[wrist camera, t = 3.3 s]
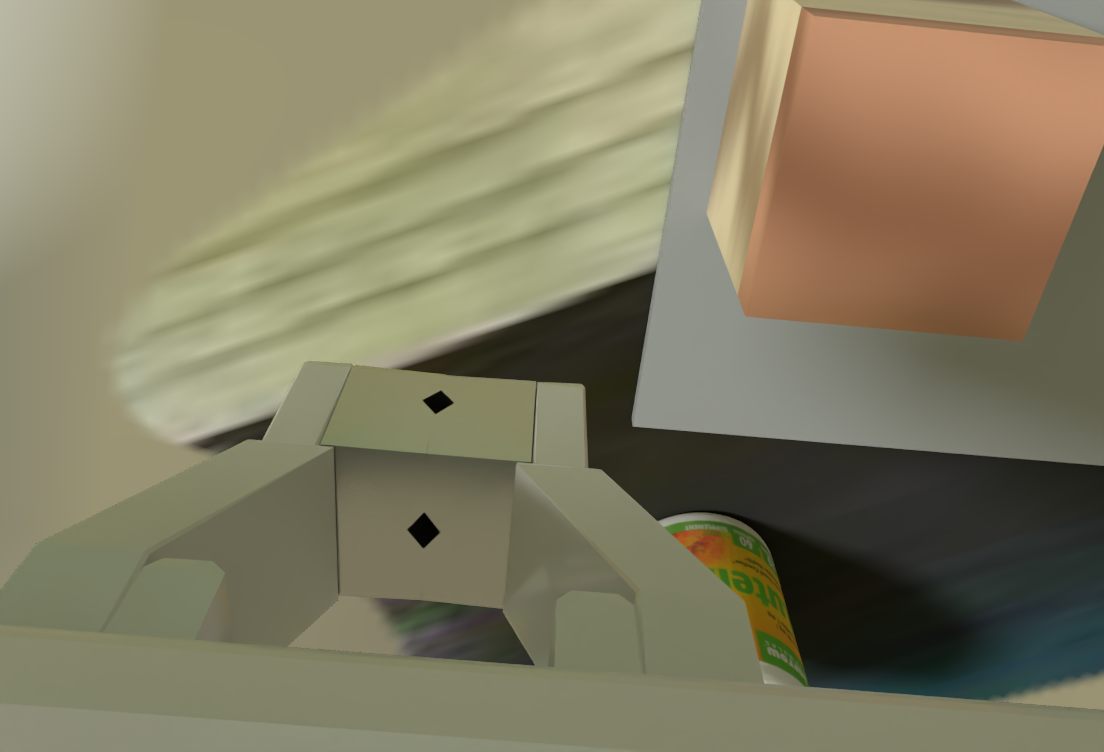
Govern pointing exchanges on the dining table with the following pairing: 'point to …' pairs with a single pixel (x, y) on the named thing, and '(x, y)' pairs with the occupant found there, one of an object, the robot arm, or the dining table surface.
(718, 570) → the supplement bottle
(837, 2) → the birch block
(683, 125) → the slate mat
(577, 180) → the dining table surface
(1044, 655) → the dining table surface
